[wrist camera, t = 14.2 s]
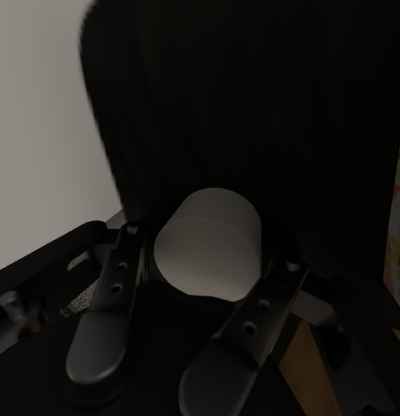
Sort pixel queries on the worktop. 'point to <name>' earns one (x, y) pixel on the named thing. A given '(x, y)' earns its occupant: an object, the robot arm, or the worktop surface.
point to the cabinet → (309, 374)
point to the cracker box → (394, 242)
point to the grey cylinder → (211, 245)
